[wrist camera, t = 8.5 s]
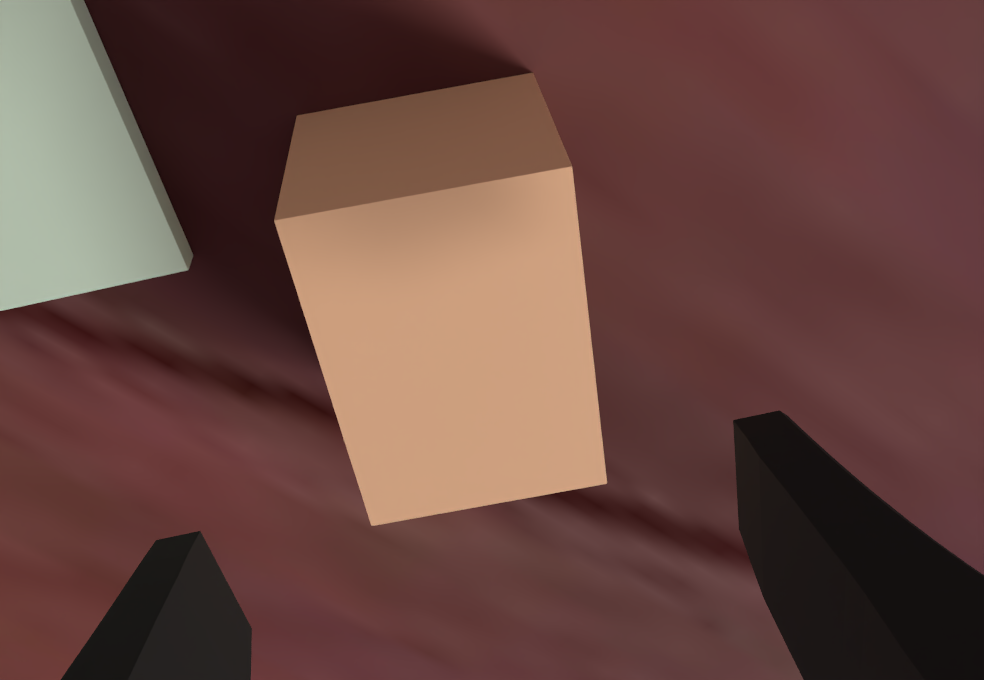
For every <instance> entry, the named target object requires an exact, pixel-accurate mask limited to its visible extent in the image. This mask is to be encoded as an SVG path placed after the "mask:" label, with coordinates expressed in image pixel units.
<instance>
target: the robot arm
mask: <svg viewBox="0 0 984 680" xmlns="http://www.w3.org/2000/svg"><path fill="white" fill-rule="evenodd" d="M733 424H734V442H735V461H736V480H737V499H738V517H739V530H740V533H741V536H742V538H743V541H744V544H745V547H746V550H747V553H748V556H749V559H750V561H751V564H752V567H753V570H754V573H755V575H756V578H757V581H758V584H759V586H760V589H761V592H762V595H763V597H764V599H765V602H766V604H767V606H768V608H769V610H770V612H771V614H772V616H773V618H774V620H775V622H776V624H777V626H778V628H779V630H780V632H781V634H782V637H783V639H784V641H785V643H786V645H787V647H788V649H789V651H790V653H791V655H792V657H793V659H794V661H795V663H796V665H797V667H798V669H799V671H800V673H801V675H802V677H803V679H804V680H984V575H983V574H981V573H980V572H978V571H977V570H975V569H974V568H972V567H971V566H969V565H968V564H967V563H965V562H964V561H962V560H961V559H960V558H958V557H957V556H956V555H954V554H953V553H951V552H950V551H949V550H947V549H946V548H944V547H943V546H942V545H940V544H939V543H937V542H936V541H935V540H933V539H932V538H931V537H929V536H928V535H927V534H925V533H924V532H923V531H922V530H920V529H919V528H918V527H916V526H915V525H914V524H912V523H911V522H910V521H908V520H907V519H906V518H905V517H903V516H902V515H901V514H900V513H899V512H897V511H896V510H895V509H894V508H892V507H891V506H890V505H889V504H887V503H886V502H885V501H884V500H882V499H881V498H880V497H879V496H877V495H876V494H875V493H874V492H872V491H871V490H870V489H869V488H868V487H866V486H865V485H864V484H863V483H862V482H860V481H859V480H858V479H857V478H856V477H855V476H853V475H852V474H851V473H850V472H849V471H848V470H846V469H845V468H844V467H843V466H842V465H841V464H840V463H838V462H837V461H836V460H835V459H834V458H833V457H832V456H830V455H829V454H828V453H827V452H826V451H825V450H824V449H823V448H822V447H820V446H819V445H818V444H817V443H816V442H815V441H814V440H813V439H812V438H811V437H810V436H808V435H807V434H806V433H805V432H804V431H803V430H802V429H801V428H800V427H799V426H798V425H797V424H796V423H795V422H793V421H792V420H791V419H790V418H789V417H788V416H787V415H785V414H784V413H782V412H781V411H775V412H770V413H766V414H761V415H756V416H751V417H746V418H742V419H737V420H733ZM251 638H252V628H251V626H250V624H249V623H248V621H247V619H246V617H245V615H244V613H243V611H242V609H241V607H240V606H239V604H238V602H237V600H236V598H235V596H234V594H233V592H232V590H231V588H230V587H229V585H228V583H227V581H226V579H225V577H224V575H223V573H222V571H221V570H220V568H219V566H218V564H217V562H216V560H215V558H214V556H213V554H212V553H211V551H210V549H209V547H208V545H207V543H206V541H205V539H204V537H203V535H202V534H201V532H200V531H198V532H194V533H189V534H184V535H179V536H174V537H170V538H165V539H160V540H156V541H155V543H154V544H153V546H152V547H151V548H150V550H149V551H148V553H147V554H146V556H145V557H144V558H143V560H142V561H141V563H140V564H139V566H138V567H137V569H136V570H135V572H134V573H133V575H132V576H131V578H130V579H129V581H128V582H127V584H126V585H125V587H124V588H123V590H122V591H121V593H120V594H119V596H118V597H117V599H116V600H115V602H114V603H113V605H112V606H111V607H110V609H109V610H108V612H107V613H106V615H105V616H104V618H103V619H102V621H101V622H100V624H99V625H98V627H97V628H96V630H95V631H94V633H93V634H92V636H91V637H90V638H89V640H88V641H87V643H86V644H85V646H84V647H83V649H82V650H81V651H80V653H79V654H78V656H77V657H76V659H75V660H74V661H73V663H72V664H71V666H70V667H69V669H68V670H67V671H66V673H65V674H64V676H63V677H62V679H61V680H250V679H251Z"/></svg>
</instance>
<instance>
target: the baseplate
mask: <svg viewBox="0 0 984 680" xmlns="http://www.w3.org/2000/svg"><path fill="white" fill-rule="evenodd" d="M192 258H193V253H192V251H191V249H190V246H189V244H188V242H187V239H186V237H185V235H184V232H183V230H182V228H181V225H180V223H179V221H178V218H177V216H176V214H175V211H174V209H173V207H172V204H171V202H170V200H169V197H168V195H167V193H166V190H165V188H164V186H163V183H162V181H161V179H160V176H159V174H158V172H157V169H156V167H155V165H154V162H153V160H152V158H151V155H150V153H149V151H148V148H147V146H146V144H145V141H144V139H143V137H142V134H141V132H140V130H139V127H138V125H137V123H136V120H135V118H134V116H133V113H132V111H131V109H130V107H129V104H128V102H127V100H126V97H125V95H124V93H123V90H122V88H121V86H120V83H119V81H118V79H117V76H116V74H115V72H114V69H113V67H112V65H111V62H110V60H109V58H108V55H107V53H106V51H105V48H104V46H103V44H102V41H101V39H100V37H99V34H98V32H97V30H96V27H95V25H94V23H93V20H92V18H91V16H90V13H89V11H88V9H87V6H86V4H85V2H84V0H0V311H2V310H7V309H12V308H16V307H21V306H25V305H30V304H35V303H39V302H44V301H48V300H53V299H58V298H62V297H67V296H72V295H76V294H81V293H85V292H90V291H95V290H99V289H104V288H108V287H113V286H118V285H122V284H127V283H131V282H136V281H141V280H145V279H150V278H154V277H159V276H164V275H168V274H173V273H178V272H182V271H187V270H189V267H190V264H191V261H192Z"/></svg>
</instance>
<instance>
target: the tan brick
mask: <svg viewBox="0 0 984 680" xmlns="http://www.w3.org/2000/svg"><path fill="white" fill-rule="evenodd" d="M274 222H275V225H276V228H277V231H278V234H279V238H280V241H281V244H282V247H283V250H284V253H285V256H286V260H287V263H288V266H289V269H290V272H291V275H292V278H293V281H294V285H295V288H296V291H297V294H298V297H299V300H300V303H301V306H302V310H303V313H304V316H305V319H306V322H307V325H308V328H309V332H310V335H311V338H312V341H313V344H314V347H315V350H316V353H317V357H318V360H319V363H320V366H321V369H322V372H323V375H324V378H325V382H326V385H327V388H328V391H329V394H330V397H331V400H332V404H333V407H334V410H335V413H336V416H337V419H338V422H339V425H340V429H341V432H342V435H343V438H344V441H345V444H346V447H347V451H348V454H349V457H350V460H351V463H352V466H353V469H354V472H355V476H356V479H357V482H358V485H359V488H360V491H361V494H362V497H363V501H364V504H365V507H366V510H367V513H368V516H369V519H370V523H371V526H374V525H380V524H385V523H391V522H396V521H402V520H408V519H413V518H419V517H424V516H430V515H435V514H441V513H446V512H452V511H458V510H463V509H469V508H474V507H480V506H485V505H491V504H496V503H502V502H507V501H513V500H519V499H524V498H530V497H535V496H541V495H546V494H552V493H557V492H563V491H568V490H574V489H580V488H585V487H591V486H596V485H602V484H607V479H606V470H605V461H604V452H603V443H602V434H601V425H600V415H599V406H598V397H597V388H596V379H595V370H594V361H593V352H592V343H591V334H590V325H589V316H588V307H587V298H586V288H585V279H584V270H583V261H582V252H581V243H580V234H579V225H578V216H577V207H576V198H575V189H574V180H573V170H572V165H571V163H570V160H569V158H568V155H567V153H566V151H565V148H564V146H563V144H562V141H561V139H560V136H559V134H558V132H557V129H556V127H555V124H554V122H553V120H552V117H551V115H550V112H549V110H548V108H547V105H546V103H545V100H544V98H543V96H542V93H541V91H540V88H539V86H538V84H537V81H536V79H535V77H534V74H533V73H527V74H522V75H517V76H511V77H506V78H500V79H495V80H489V81H484V82H478V83H473V84H467V85H462V86H456V87H451V88H445V89H440V90H434V91H429V92H423V93H418V94H412V95H407V96H401V97H396V98H390V99H385V100H379V101H374V102H368V103H363V104H357V105H352V106H346V107H341V108H335V109H330V110H324V111H319V112H313V113H308V114H302V115H297V117H296V121H295V126H294V131H293V135H292V140H291V145H290V149H289V154H288V158H287V163H286V168H285V172H284V177H283V182H282V186H281V191H280V195H279V200H278V205H277V209H276V214H275V219H274Z"/></svg>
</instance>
